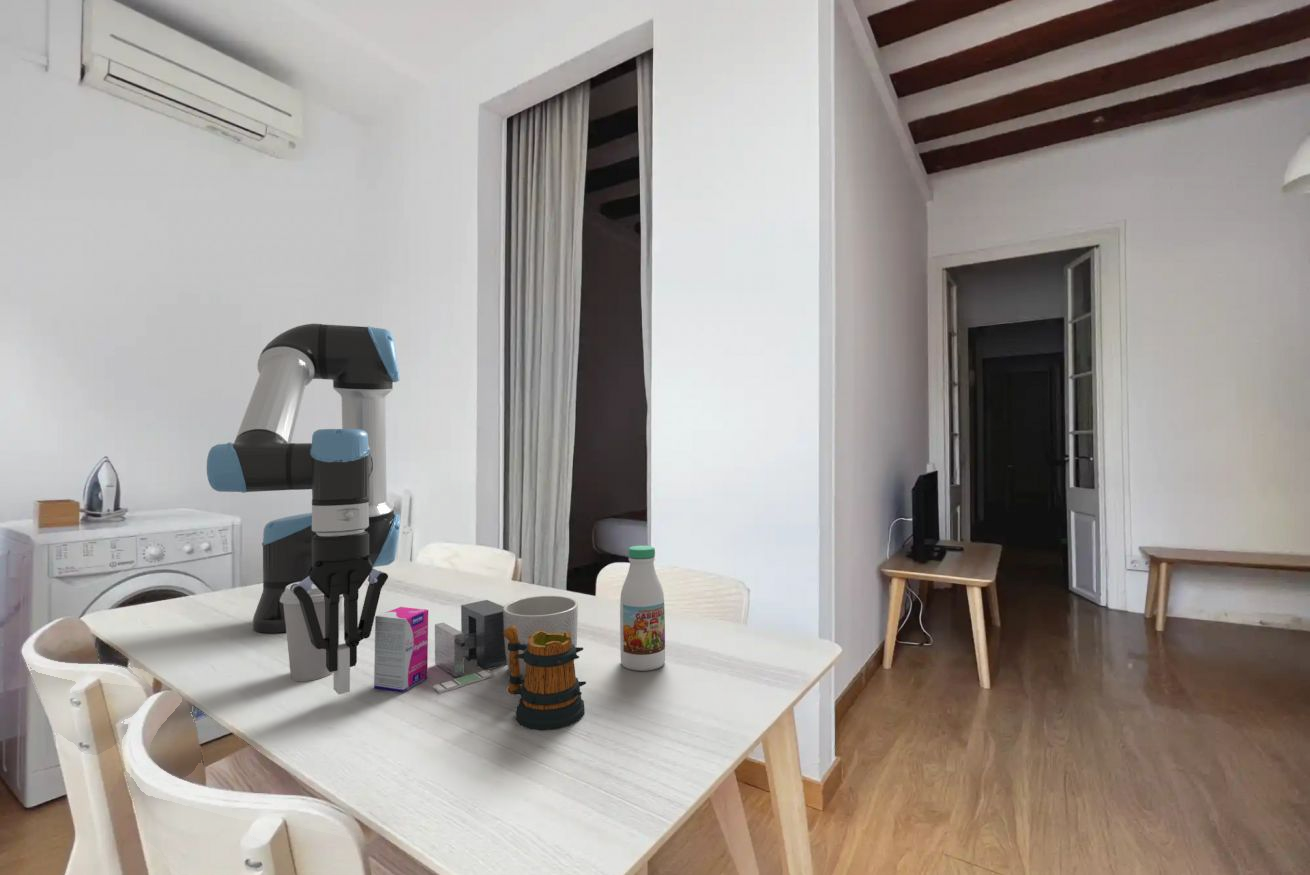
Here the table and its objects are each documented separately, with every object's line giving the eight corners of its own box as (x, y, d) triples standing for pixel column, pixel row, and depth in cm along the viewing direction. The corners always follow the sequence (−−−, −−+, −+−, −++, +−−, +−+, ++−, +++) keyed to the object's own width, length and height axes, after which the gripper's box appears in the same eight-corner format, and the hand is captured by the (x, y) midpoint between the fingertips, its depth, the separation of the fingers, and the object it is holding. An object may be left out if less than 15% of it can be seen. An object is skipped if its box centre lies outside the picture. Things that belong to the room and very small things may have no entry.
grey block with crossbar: (435, 663, 98) (434, 624, 98) (498, 645, 106) (498, 609, 106) (461, 681, 90) (461, 638, 90) (527, 660, 98) (527, 622, 98)
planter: (535, 652, 103) (534, 592, 103) (592, 662, 98) (591, 599, 98) (487, 677, 92) (486, 610, 92) (549, 691, 87) (548, 620, 87)
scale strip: (433, 688, 88) (433, 685, 88) (487, 672, 94) (487, 669, 94) (439, 693, 86) (439, 690, 86) (493, 676, 93) (493, 673, 93)
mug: (600, 704, 82) (599, 624, 82) (560, 738, 73) (559, 648, 73) (526, 689, 87) (526, 614, 88) (481, 719, 78) (480, 635, 78)
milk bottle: (611, 664, 97) (610, 547, 97) (642, 651, 103) (641, 541, 103) (643, 676, 92) (642, 553, 92) (674, 662, 98) (673, 546, 98)
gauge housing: (461, 656, 101) (461, 605, 102) (487, 649, 105) (487, 599, 105) (484, 670, 95) (484, 615, 95) (511, 662, 98) (511, 609, 98)
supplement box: (404, 693, 86) (404, 618, 87) (372, 689, 88) (372, 616, 88) (429, 678, 92) (429, 608, 92) (399, 675, 94) (398, 605, 94)
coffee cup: (337, 658, 101) (336, 574, 102) (354, 673, 95) (353, 583, 95) (274, 673, 95) (273, 584, 95) (287, 690, 88) (287, 594, 88)
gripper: (296, 540, 77) (296, 713, 77) (395, 529, 86) (396, 684, 86) (284, 534, 83) (284, 696, 82) (378, 524, 92) (379, 670, 91)
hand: (341, 690), depth 84 cm, fingers closed
